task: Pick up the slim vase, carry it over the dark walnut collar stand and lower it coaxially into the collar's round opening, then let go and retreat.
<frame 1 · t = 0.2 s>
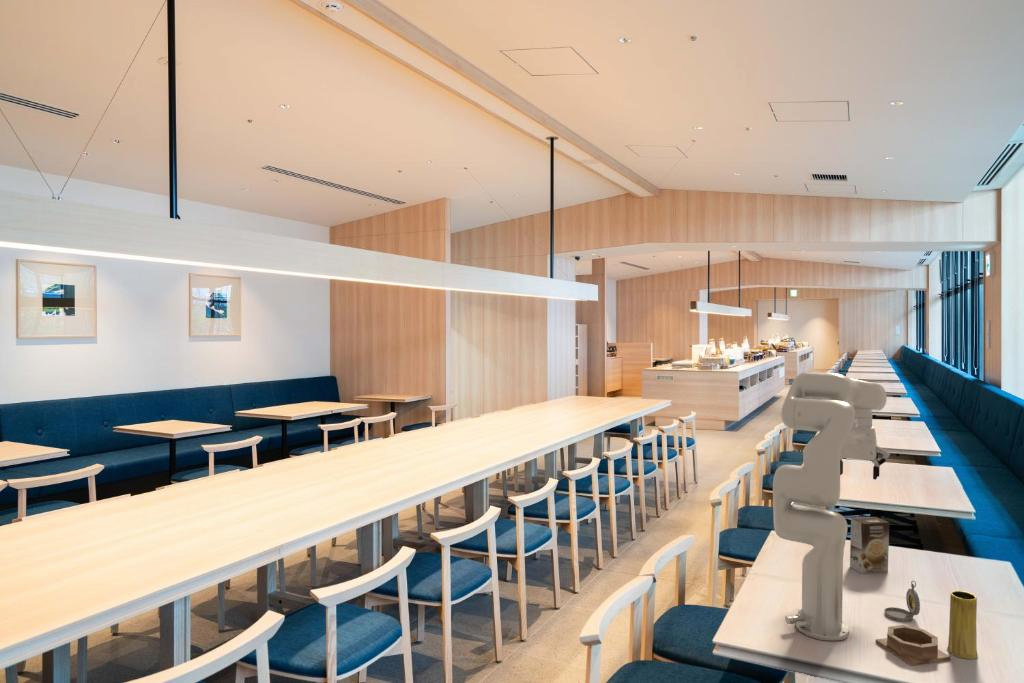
hand: (857, 476, 205), 31 cm above the table, tool pointing down, fingers open, 9 cm apart
collar: (912, 651, 160), on the table
vase: (962, 653, 159), on the table
pocket watch: (903, 617, 178), on the table
coffee box: (868, 569, 210), on the table
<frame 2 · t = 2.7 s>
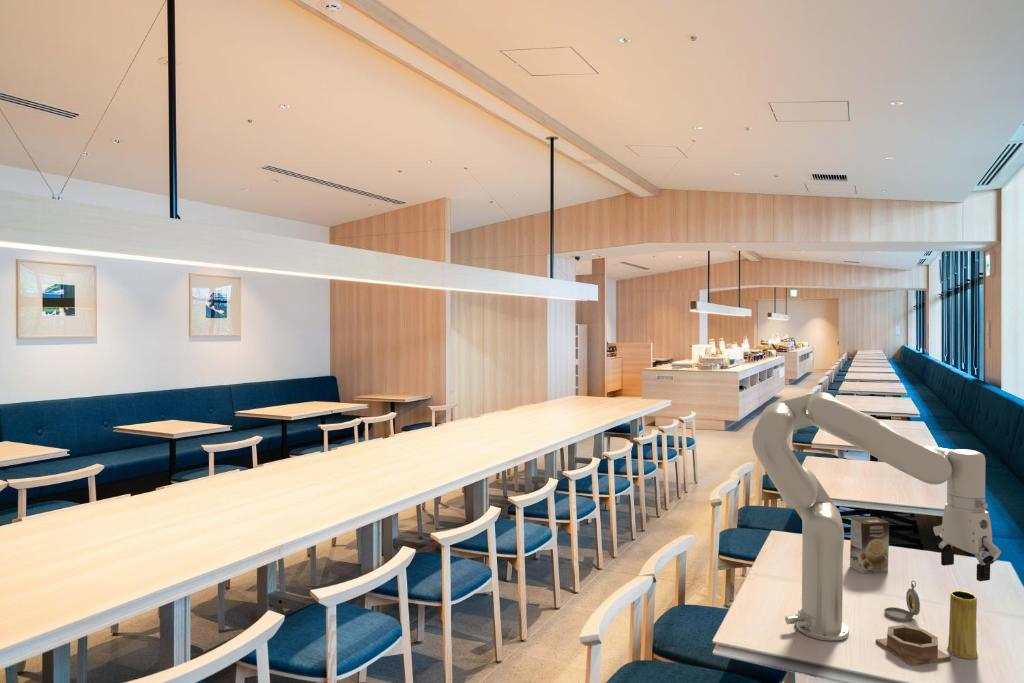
hand: (964, 572, 158), 20 cm above the table, tool pointing down, fingers open, 9 cm apart
nothing on the table moved.
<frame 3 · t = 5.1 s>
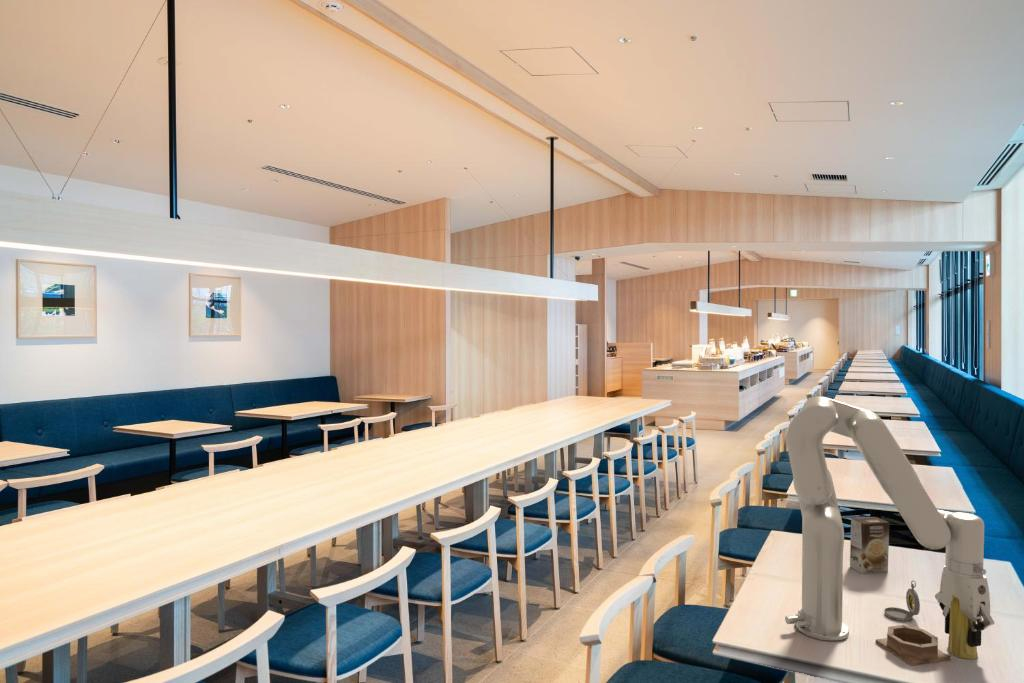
hand: (962, 638, 159), 4 cm above the table, tool pointing down, fingers closed on vase, 5 cm apart
vase: (962, 653, 159), on the table, touching gripper
everything else where it was.
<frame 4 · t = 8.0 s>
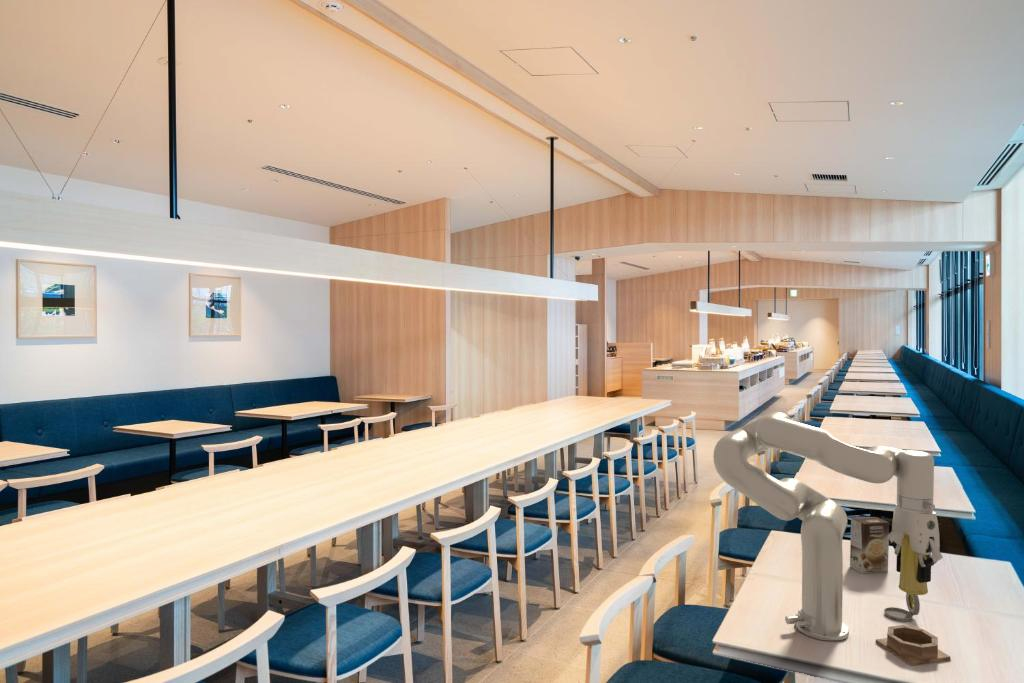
hand: (913, 575, 159), 19 cm above the table, tool pointing down, fingers closed on vase, 5 cm apart
vase: (913, 590, 159), point 15 cm above the table, touching gripper
everything else where it was.
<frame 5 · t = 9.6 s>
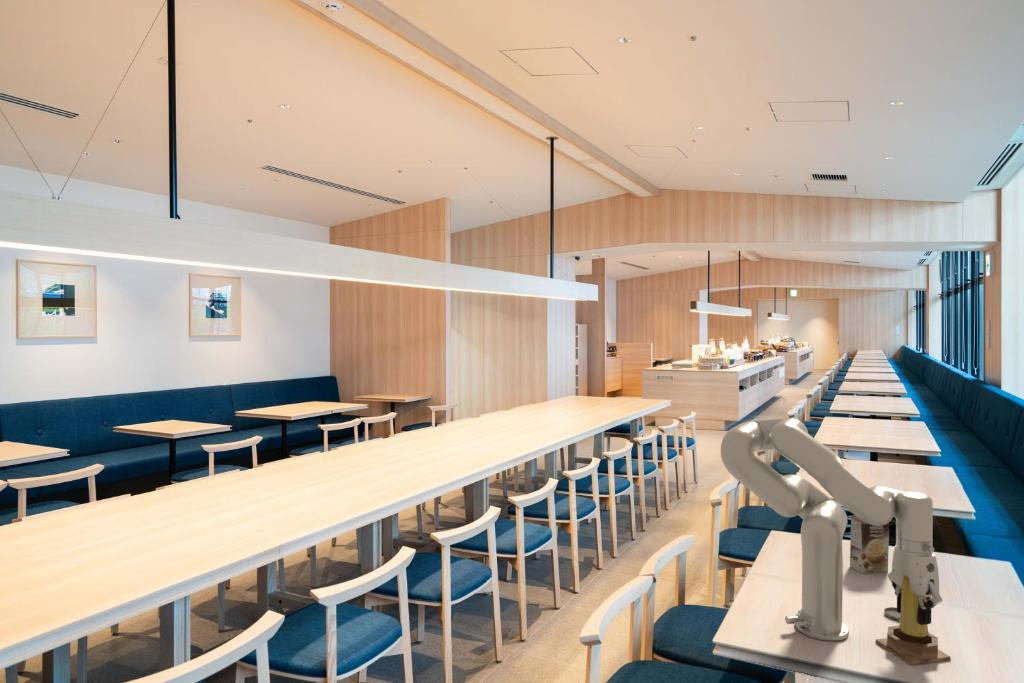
hand: (913, 617, 160), 8 cm above the table, tool pointing down, fingers closed on vase, 5 cm apart
vase: (913, 632, 160), point 5 cm above the table, touching gripper
everything else where it was.
when the fingers open (6 cm above the table, at t = 11.1 s): vase drops 1 cm, resting on collar.
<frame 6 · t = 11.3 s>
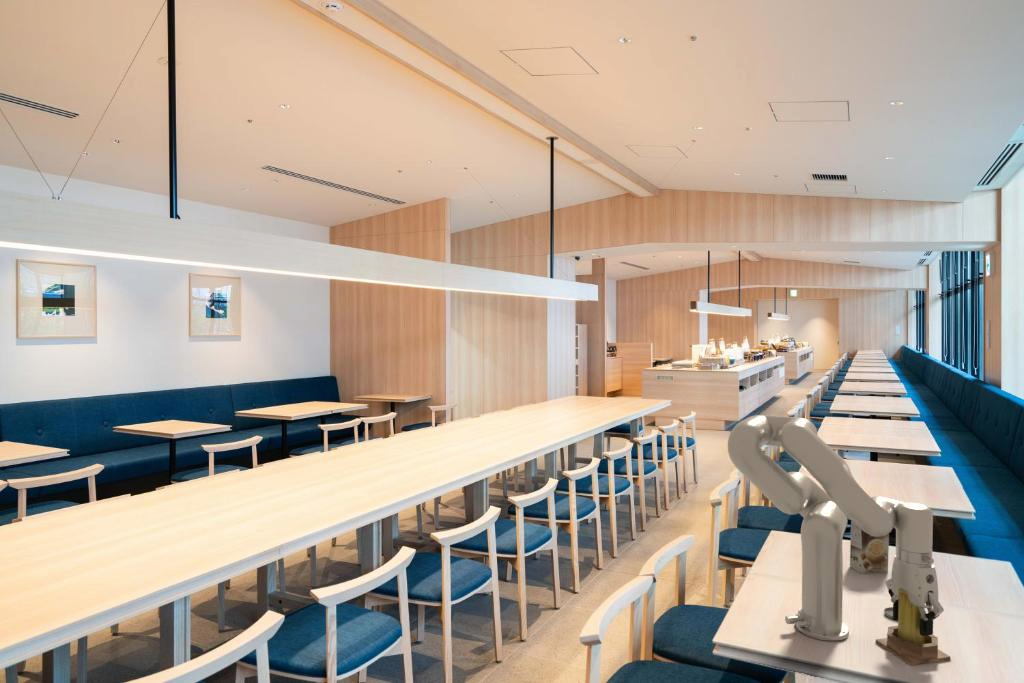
hand: (912, 626, 160), 6 cm above the table, tool pointing down, fingers open, 7 cm apart
vase: (911, 648, 160), point 1 cm above the table, touching collar
everything else where it was.
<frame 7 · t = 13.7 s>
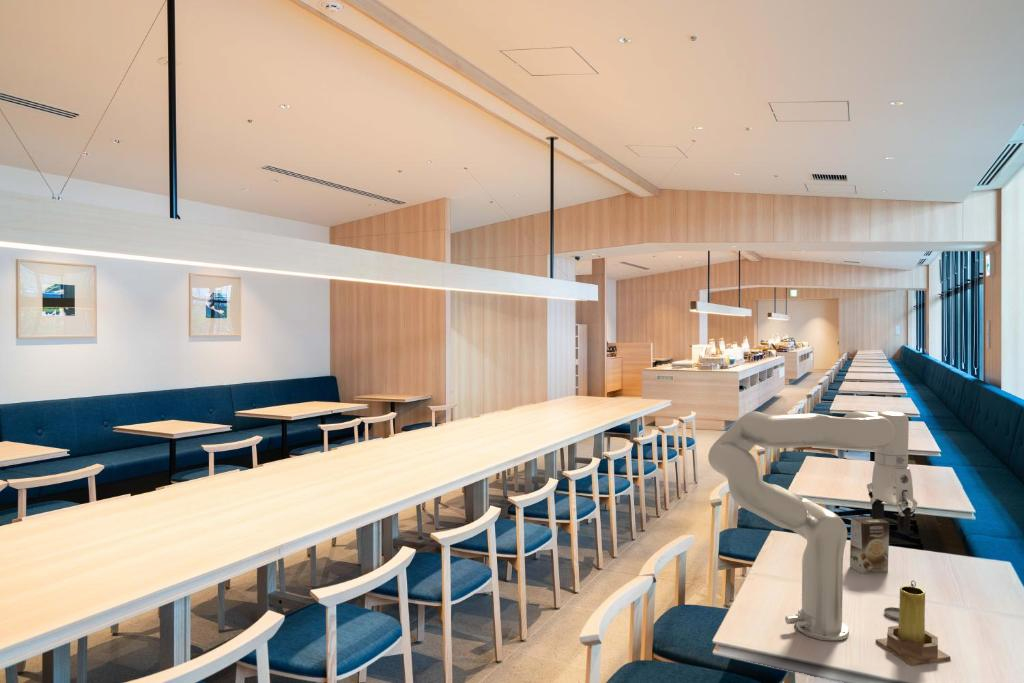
hand: (890, 524, 172), 27 cm above the table, tool pointing down, fingers open, 9 cm apart
nothing on the table moved.
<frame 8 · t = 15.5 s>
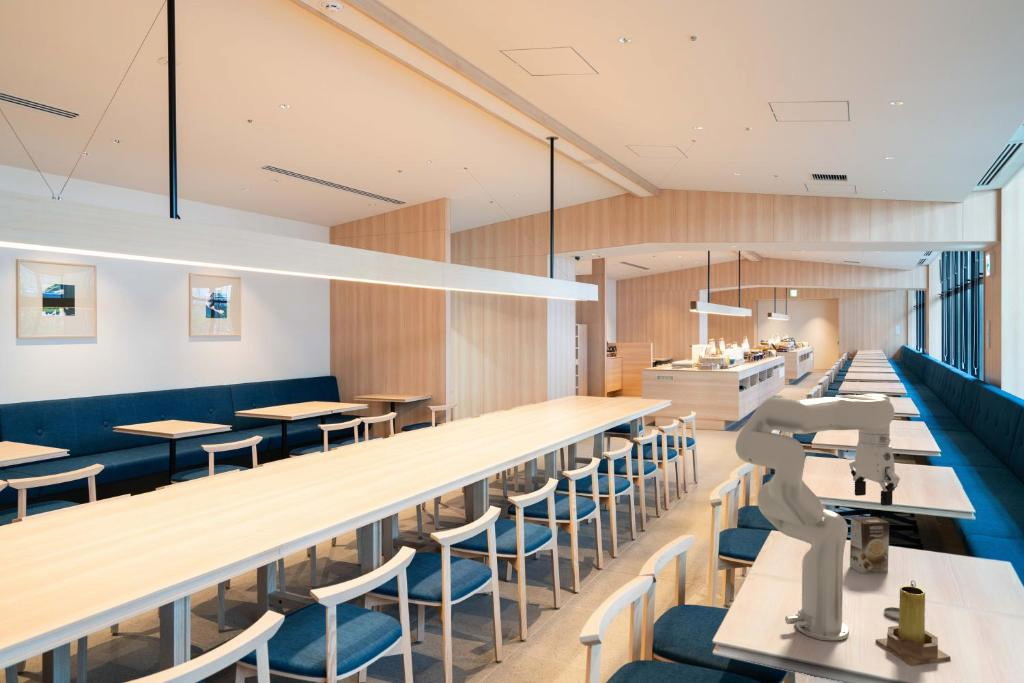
hand: (872, 500, 182), 30 cm above the table, tool pointing down, fingers open, 9 cm apart
nothing on the table moved.
at the end: vase 0.1 cm off-centre on the collar, point 0.6 cm above the collar's base; vase tilted 0°; the gripper is holding nothing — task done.
